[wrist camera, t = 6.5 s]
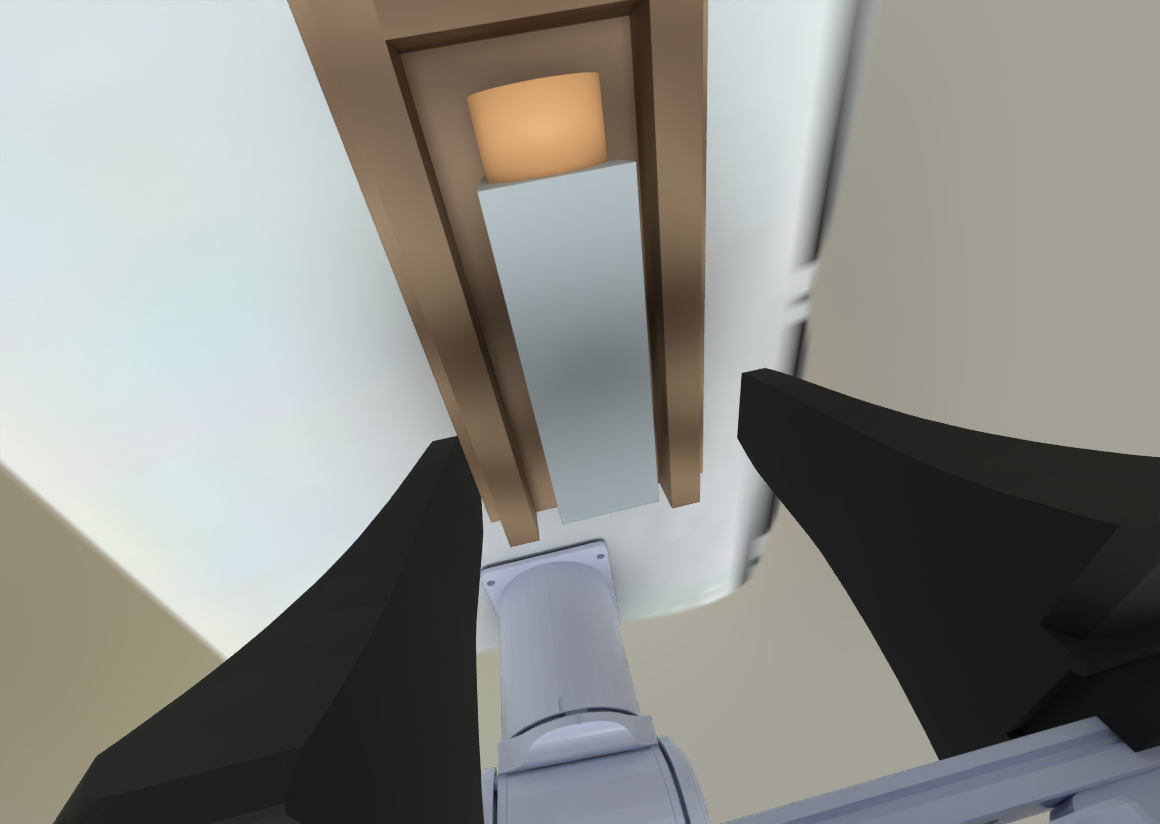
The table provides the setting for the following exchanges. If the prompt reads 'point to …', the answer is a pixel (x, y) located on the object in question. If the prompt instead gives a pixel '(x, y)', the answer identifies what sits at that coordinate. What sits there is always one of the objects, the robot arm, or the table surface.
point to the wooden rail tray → (454, 215)
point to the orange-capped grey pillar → (572, 285)
